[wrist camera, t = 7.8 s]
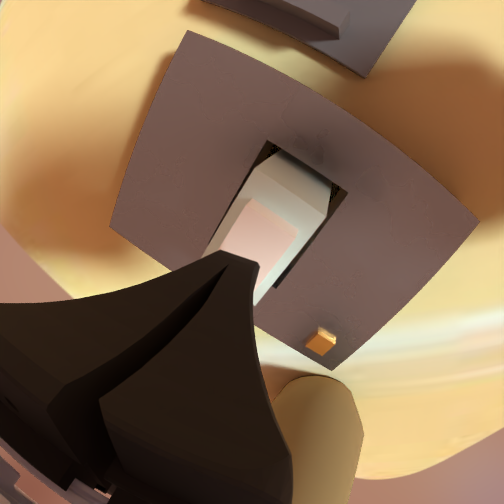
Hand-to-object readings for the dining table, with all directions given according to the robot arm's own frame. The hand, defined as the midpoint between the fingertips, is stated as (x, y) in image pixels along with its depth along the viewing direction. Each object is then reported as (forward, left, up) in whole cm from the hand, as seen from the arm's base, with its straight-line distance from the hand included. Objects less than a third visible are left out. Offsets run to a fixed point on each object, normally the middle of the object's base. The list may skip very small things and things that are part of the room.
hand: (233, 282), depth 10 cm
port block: (0, 0, -8) cm, 8 cm away
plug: (0, 0, -9) cm, 9 cm away
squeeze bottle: (-11, +12, -9) cm, 18 cm away
